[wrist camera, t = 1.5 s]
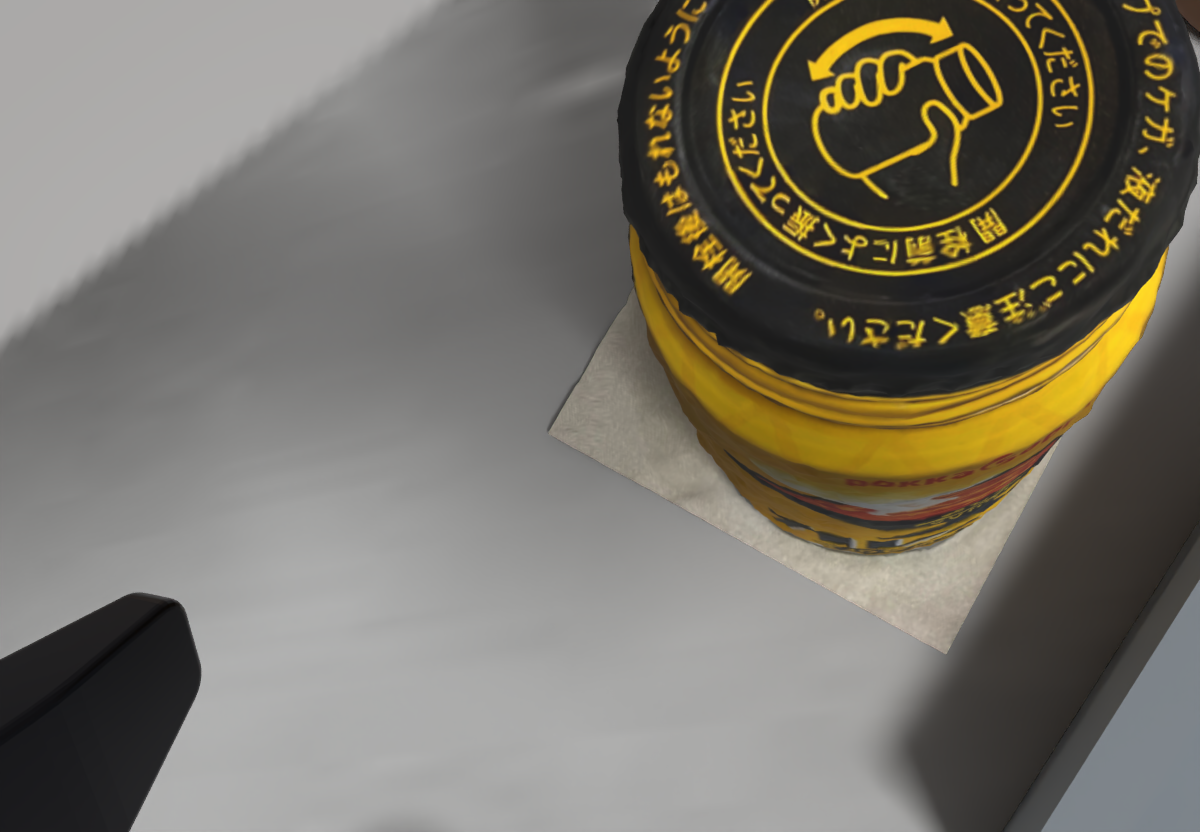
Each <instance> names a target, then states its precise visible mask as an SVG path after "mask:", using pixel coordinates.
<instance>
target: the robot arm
mask: <svg viewBox="0 0 1200 832" xmlns="http://www.w3.org/2000/svg"><path fill="white" fill-rule="evenodd" d="M200 681H201V664H200V660H199V657H198V653H197V650H196V646H195V642H194V639H193V635H192V632H191V628H190V625H189V621H188V618H187V614H186V612H185V609H184V607H183V606H182V605H181V604H180V603H179V602H178V601H177V600H174V599H171V598H166V597H162V596H157V595H152V594H147V593H132V594H128V595H126V596H124V597H122V598H120V599H118V600H116V601H114V602H112V603H110V604H108V605H106V606H104V607H102V608H100V609H98V610H96V611H94V612H92V613H90V614H88V615H86V616H84V617H82V618H80V619H79V620H77V621H75V622H73V623H71V624H69V625H67V626H65V627H63V628H61V629H59V630H57V631H55V632H53V633H51V634H49V635H47V636H45V637H43V638H41V639H39V640H37V641H36V642H34V643H32V644H30V645H28V646H26V647H24V648H22V649H20V650H18V651H16V652H14V653H12V654H10V655H8V656H6V657H4V658H2V659H0V832H129V831H130V829H131V827H132V825H133V823H134V821H135V819H136V817H137V815H138V813H139V811H140V809H141V807H142V805H143V803H144V801H145V799H146V797H147V795H148V793H149V791H150V789H151V787H152V785H153V783H154V781H155V779H156V777H157V775H158V773H159V771H160V769H161V767H162V765H163V763H164V761H165V759H166V757H167V755H168V752H169V750H170V748H171V746H172V744H173V742H174V740H175V738H176V736H177V734H178V732H179V730H180V728H181V726H182V724H183V722H184V720H185V718H186V716H187V714H188V712H189V710H190V708H191V706H192V704H193V702H194V700H195V698H196V695H197V693H198V690H199V686H200Z"/></svg>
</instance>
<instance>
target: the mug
mask: <svg viewBox="0 0 1200 832" xmlns="http://www.w3.org/2000/svg"><path fill="white" fill-rule="evenodd" d="M1175 1H1176V5H1177V8H1178V10H1179V12H1180V13H1181V15H1182V16H1183V17H1184V18H1185V19H1186V20H1187V21H1188V22H1189V23H1190V24H1191V25H1192V26H1193V27H1194V28H1196V29H1197V30H1198V31H1199V32H1200V0H1175Z"/></svg>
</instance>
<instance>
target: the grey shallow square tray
mask: <svg viewBox="0 0 1200 832" xmlns="http://www.w3.org/2000/svg"><path fill="white" fill-rule="evenodd" d="M1002 832H1200V520H1199V522H1198V523H1197V525H1196V527H1195V528H1194V530H1193V531H1192V533H1191V534H1190V536H1189V538H1188V539H1187V541H1186V542H1185V544H1184V546H1183V547H1182V549H1181V550H1180V552H1179V553H1178V555H1177V557H1176V558H1175V560H1174V561H1173V563H1172V564H1171V566H1170V568H1169V569H1168V571H1167V572H1166V574H1165V576H1164V577H1163V579H1162V580H1161V582H1160V583H1159V585H1158V587H1157V588H1156V590H1155V591H1154V593H1153V595H1152V596H1151V598H1150V599H1149V601H1148V602H1147V604H1146V606H1145V607H1144V609H1143V610H1142V612H1141V613H1140V615H1139V617H1138V618H1137V620H1136V621H1135V623H1134V625H1133V626H1132V628H1131V629H1130V631H1129V632H1128V634H1127V636H1126V637H1125V639H1124V640H1123V642H1122V643H1121V645H1120V647H1119V648H1118V650H1117V651H1116V653H1115V655H1114V656H1113V658H1112V659H1111V661H1110V662H1109V664H1108V666H1107V667H1106V669H1105V670H1104V672H1103V673H1102V675H1101V677H1100V678H1099V680H1098V681H1097V683H1096V685H1095V686H1094V688H1093V689H1092V691H1091V692H1090V694H1089V696H1088V697H1087V699H1086V700H1085V702H1084V704H1083V705H1082V707H1081V708H1080V710H1079V711H1078V713H1077V715H1076V716H1075V718H1074V719H1073V721H1072V722H1071V724H1070V726H1069V727H1068V729H1067V730H1066V732H1065V734H1064V735H1063V737H1062V738H1061V740H1060V741H1059V743H1058V745H1057V746H1056V748H1055V749H1054V751H1053V752H1052V754H1051V756H1050V757H1049V759H1048V760H1047V762H1046V764H1045V765H1044V767H1043V768H1042V770H1041V771H1040V773H1039V775H1038V776H1037V778H1036V779H1035V781H1034V782H1033V784H1032V786H1031V787H1030V789H1029V790H1028V792H1027V794H1026V795H1025V797H1024V798H1023V800H1022V801H1021V803H1020V805H1019V806H1018V808H1017V809H1016V811H1015V813H1014V814H1013V816H1012V817H1011V819H1010V820H1009V822H1008V824H1007V825H1006V827H1005V828H1004V830H1003V831H1002Z"/></svg>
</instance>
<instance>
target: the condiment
mask: <svg viewBox="0 0 1200 832" xmlns="http://www.w3.org/2000/svg"><path fill="white" fill-rule="evenodd" d="M617 122H618V129H619V163H620V168H621V178H622V199H623V210H624V215H625V216H626V218H627V220H628V221H629V222H630V224H629V234H628V238H629V246H630V255H631V264H632V279H633V282H634V287H633V289H632V291H631V292H630V294H629V297H628V299H627V304H626V306H624V307H623V308H622V309H621V311H620V312H619V314H618V315H617V317H616V319H615V320H614V322H613V323H612V325H611V326H610V328H609V330H608V331H607V334H606V336H605V337H604V338H603V340H602V341H601V343H600V345H599V346H598V348H597V350H596V352H595V354H594V356H593V358H592V359H591V361H590V363H589V365H588V367H587V368H586V370H585V372H584V374H583V376H582V377H581V379H580V381H579V383H578V384H577V385H576V386H575V388H574V389H573V391H572V393H571V394H570V396H569V398H568V400H567V401H566V403H565V405H564V406H563V408H562V410H561V411H560V413H559V415H558V417H557V419H556V420H555V422H554V424H553V425H552V427H551V429H550V431H549V432H548V434H549V435H551V436H553V437H555V438H556V439H558V440H560V441H562V442H564V443H565V444H567V445H569V446H571V447H573V448H575V449H576V450H578V451H580V452H582V453H584V454H585V455H587V456H589V457H591V458H593V459H594V460H596V461H598V462H600V463H601V464H603V465H605V466H607V467H609V468H610V469H612V470H614V471H616V472H618V473H619V474H621V475H623V476H625V477H627V478H629V479H631V480H632V481H634V482H636V483H638V484H640V485H641V486H643V487H645V488H647V489H649V490H651V491H653V492H655V493H656V494H658V495H660V496H661V497H663V498H665V499H666V500H668V501H670V502H672V503H674V504H676V505H677V506H679V507H681V508H683V509H685V510H686V511H688V512H690V513H692V514H693V515H695V516H697V517H699V518H701V519H702V520H704V521H706V522H708V523H710V524H711V525H713V526H715V527H717V528H718V529H720V530H722V531H724V532H726V533H727V534H729V535H731V536H733V537H734V538H736V539H738V540H740V541H742V542H743V543H745V544H747V545H749V546H751V547H752V548H754V549H756V550H758V551H760V552H761V553H763V554H765V555H767V556H768V557H770V558H772V559H774V560H776V561H778V562H779V563H781V564H783V565H785V566H787V567H788V568H790V569H792V570H794V571H796V572H798V573H799V574H801V575H803V576H805V577H806V578H808V579H810V580H812V581H814V582H815V583H817V584H819V585H821V586H823V587H824V588H826V589H828V590H830V591H832V592H833V593H835V594H837V595H839V596H841V597H842V598H844V599H846V600H848V601H850V602H851V603H853V604H855V605H857V606H859V607H860V608H862V609H864V610H866V611H868V612H870V613H872V614H873V615H875V616H877V617H879V618H880V619H882V620H884V621H886V622H887V623H889V624H891V625H893V626H895V627H897V628H898V629H900V630H902V631H904V632H905V633H907V634H909V635H911V636H913V637H915V638H916V639H918V640H920V641H922V642H924V643H926V644H927V645H929V646H931V647H933V648H935V649H937V650H939V651H941V652H942V653H944V654H947V652H948V650H949V649H950V647H951V645H952V643H953V641H954V639H955V637H956V635H957V633H958V631H959V630H960V628H961V626H962V624H963V622H964V620H965V618H966V616H967V615H968V613H969V611H970V609H971V607H972V605H973V603H974V602H975V600H976V598H977V596H978V595H979V593H980V590H981V588H982V586H983V584H984V582H985V581H986V579H987V577H988V575H989V573H990V571H991V569H992V567H993V565H994V563H995V561H996V559H997V558H998V556H999V554H1000V552H1001V550H1002V548H1003V546H1004V545H1005V543H1006V541H1007V539H1008V537H1009V535H1010V533H1011V531H1012V529H1013V528H1014V526H1015V524H1016V522H1017V520H1018V518H1019V517H1020V515H1021V513H1022V511H1023V509H1024V507H1025V505H1026V503H1027V501H1028V500H1029V498H1030V496H1031V494H1032V492H1033V490H1034V488H1035V486H1036V484H1037V482H1038V481H1039V479H1040V477H1041V475H1042V473H1043V471H1044V469H1045V468H1046V466H1047V464H1048V462H1049V460H1050V458H1051V456H1052V454H1053V452H1054V451H1055V449H1056V447H1057V445H1058V443H1059V441H1060V440H1061V438H1062V436H1063V434H1064V433H1065V432H1066V431H1067V430H1068V429H1070V428H1071V427H1072V425H1073V424H1074V423H1076V422H1078V421H1079V420H1081V419H1082V418H1084V417H1085V416H1087V415H1088V413H1089V412H1090V411H1091V409H1092V406H1093V403H1094V402H1095V400H1096V398H1097V397H1098V395H1099V394H1100V392H1101V391H1102V389H1103V388H1104V386H1105V384H1106V383H1107V382H1108V381H1109V380H1110V379H1111V378H1112V377H1113V376H1114V375H1115V373H1116V372H1117V370H1118V369H1119V367H1120V366H1121V364H1122V363H1123V361H1124V360H1125V358H1126V357H1127V356H1128V354H1129V353H1130V351H1131V350H1132V349H1133V347H1134V346H1135V345H1136V343H1137V342H1138V341H1139V340H1140V339H1141V338H1142V336H1143V334H1144V331H1145V328H1146V325H1147V323H1148V321H1149V319H1150V317H1151V315H1152V313H1153V310H1154V306H1155V302H1156V295H1157V292H1158V289H1159V287H1160V284H1161V280H1162V277H1163V274H1164V269H1165V263H1166V258H1167V254H1168V250H1169V244H1170V243H1171V241H1172V240H1173V239H1174V237H1175V236H1176V235H1177V233H1178V232H1179V231H1180V229H1181V227H1182V226H1183V221H1184V215H1185V210H1186V207H1187V203H1188V200H1189V197H1190V195H1191V193H1192V191H1193V190H1194V188H1195V186H1196V184H1197V176H1198V158H1199V155H1200V71H1199V67H1198V62H1197V57H1196V55H1195V52H1194V49H1193V46H1192V43H1191V41H1190V38H1189V35H1188V31H1187V27H1186V24H1185V22H1184V20H1183V18H1182V16H1181V14H1180V12H1179V10H1178V8H1177V5H1176V1H1175V0H659V2H658V4H657V5H656V7H655V9H654V11H653V12H652V14H651V15H650V16H649V18H648V19H647V21H646V22H645V24H644V26H643V28H642V30H641V32H640V35H639V37H638V40H637V42H636V44H635V47H634V49H633V52H632V54H631V57H630V59H629V62H628V65H627V67H626V78H625V83H624V87H623V91H622V96H621V101H620V104H619V108H618V119H617Z"/></svg>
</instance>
